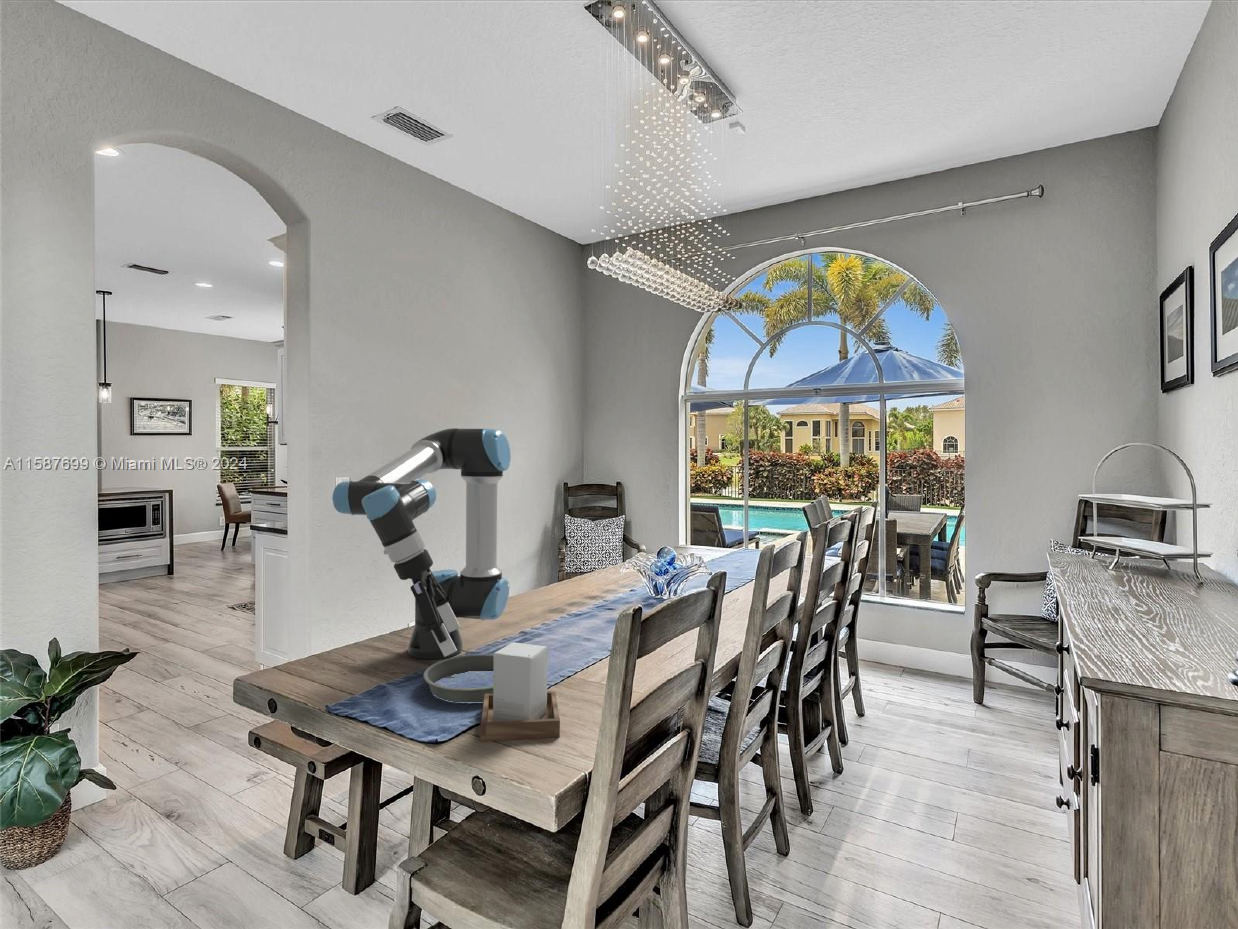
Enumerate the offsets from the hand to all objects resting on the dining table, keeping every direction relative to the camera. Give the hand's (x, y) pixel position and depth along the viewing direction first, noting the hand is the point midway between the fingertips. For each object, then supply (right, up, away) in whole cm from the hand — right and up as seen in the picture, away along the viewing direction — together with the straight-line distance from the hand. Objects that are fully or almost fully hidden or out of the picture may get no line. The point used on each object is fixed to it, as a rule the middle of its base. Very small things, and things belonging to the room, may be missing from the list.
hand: (452, 641), depth 139 cm
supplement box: (+15, -17, -1) cm, 22 cm away
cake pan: (+1, -17, +19) cm, 25 cm away
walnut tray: (+15, -17, -1) cm, 23 cm away
